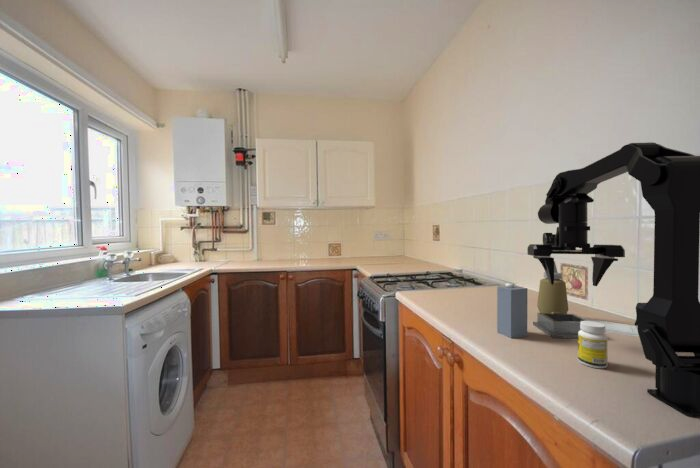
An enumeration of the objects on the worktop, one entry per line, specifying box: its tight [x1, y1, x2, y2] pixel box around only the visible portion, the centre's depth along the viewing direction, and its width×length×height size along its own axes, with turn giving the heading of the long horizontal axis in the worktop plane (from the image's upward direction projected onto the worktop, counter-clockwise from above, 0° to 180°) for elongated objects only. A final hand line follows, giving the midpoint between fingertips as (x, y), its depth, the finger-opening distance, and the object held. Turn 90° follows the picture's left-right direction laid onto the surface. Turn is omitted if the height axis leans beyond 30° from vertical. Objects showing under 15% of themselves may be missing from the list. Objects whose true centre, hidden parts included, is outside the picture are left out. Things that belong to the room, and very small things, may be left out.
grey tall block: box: [496, 282, 528, 339], centre depth 78 cm, size 4×6×13 cm
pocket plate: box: [532, 312, 588, 340], centre depth 80 cm, size 10×11×4 cm
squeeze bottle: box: [536, 260, 569, 314], centre depth 91 cm, size 8×8×18 cm
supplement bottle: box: [577, 321, 609, 369], centre depth 61 cm, size 5×5×8 cm
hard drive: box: [583, 317, 640, 338], centre depth 83 cm, size 2×8×12 cm
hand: (573, 285), depth 73 cm, fingers open, 9 cm apart
